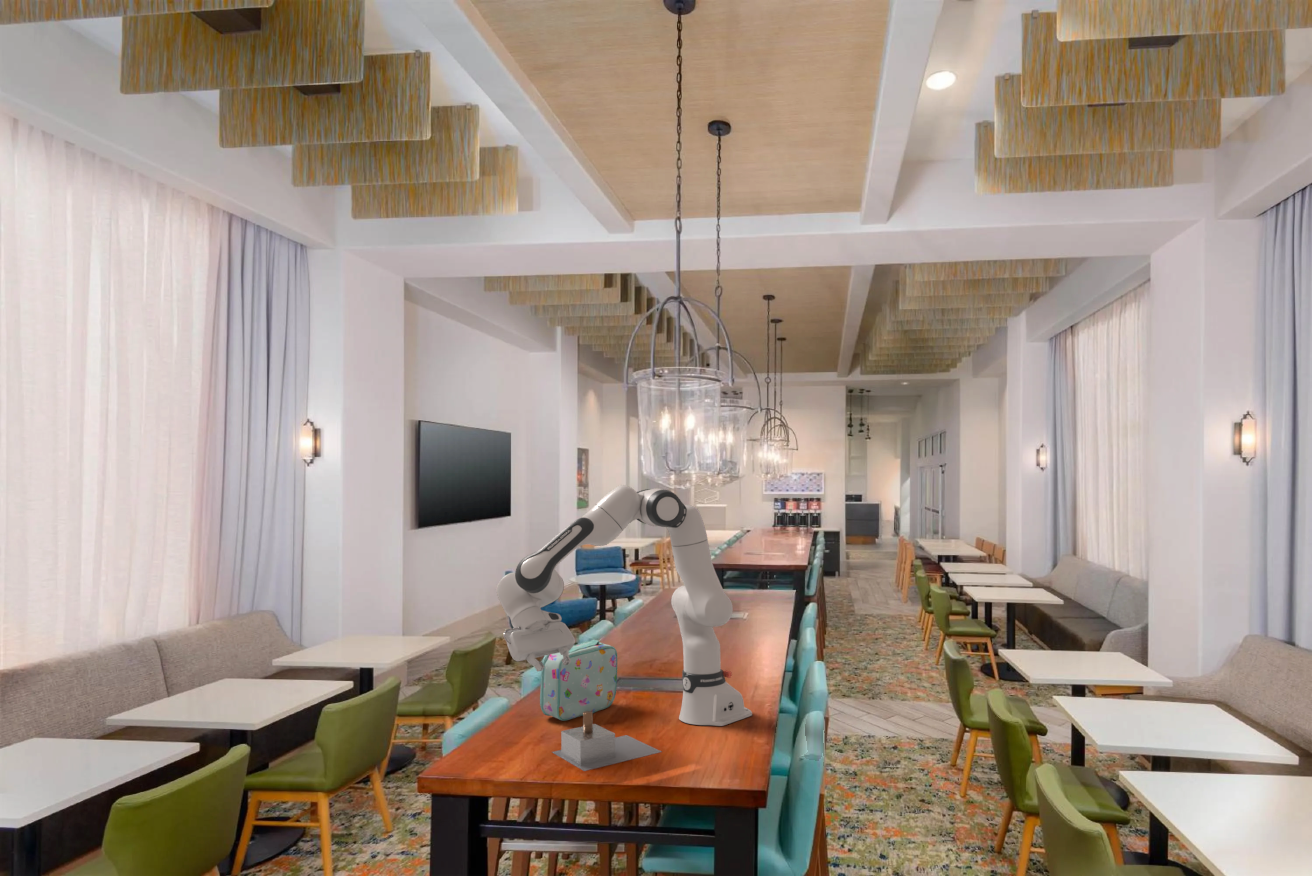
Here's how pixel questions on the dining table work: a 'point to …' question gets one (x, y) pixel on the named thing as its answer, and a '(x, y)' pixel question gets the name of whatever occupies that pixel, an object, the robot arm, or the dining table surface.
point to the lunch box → (579, 681)
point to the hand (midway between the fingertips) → (554, 666)
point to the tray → (619, 752)
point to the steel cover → (588, 742)
